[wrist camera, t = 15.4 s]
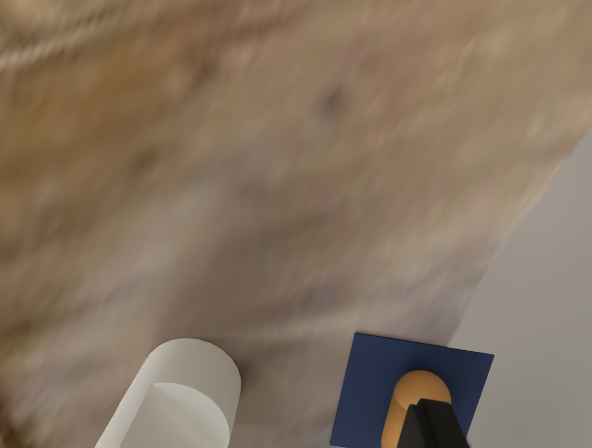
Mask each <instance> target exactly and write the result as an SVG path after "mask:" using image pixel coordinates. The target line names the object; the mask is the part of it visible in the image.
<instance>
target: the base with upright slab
mask: <svg viewBox="0 0 592 448" xmlns="http://www.w3.org/2000/svg"><path fill="white" fill-rule="evenodd" d="M240 393H241V377H240V374H239V370H238V368H237V366H236V365H235V363H234V361H233V360H232V358H231V357H230V356H229V355H227V354H226V353H225V352H224V351H223V350H222V349H220V348H219V347H217V346H215V345H213V344H212V343H209V342H206V341H203V340H200V339H192V338H181V339H175V340H170V341H168V342H166V343H163V344H161V345H159V346H158V347H157V348H156V349H154V350H153V351H152V352H151V353H150V354H149V356H148V357H147V359H146V360H145V362H144V364H143V365H142V367H141V369H140V370H139V372H138V374H137V376H136V377H135V379H134V381H133V382H132V384H131V386H130V387H129V389H128V391H127V393H126V394H125V396H124V398H123V399H122V401H121V403H120V404H119V406H118V408H117V410H116V412H115V414H114V415H113V417H112V419H111V421H110V422H109V424H108V426H107V427H106V429H105V431H104V433H103V434H102V436H101V438H100V439H99V441H98V443H97V444H96V446H95V448H227V447H228V444H229V441H230V437H231V432H232V428H233V424H234V419H235V415H236V410H237V406H238V402H239V397H240Z"/></svg>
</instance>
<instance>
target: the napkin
mask: <svg viewBox="0 0 592 448" xmlns="http://www.w3.org/2000/svg"><path fill="white" fill-rule="evenodd" d="M493 358H494V355H492V354H486V353H480V352H473V351H467V350H461V349H454V348H448V347H442V346H436V345H430V344H423V343H417V342H411V341H404V340H398V339H392V338H386V337H379V336H373V335H367V334H360V333H355V335H354V339H353V344H352V348H351V352H350V357H349V361H348V366H347V370H346V374H345V379H344V383H343V387H342V392H341V396H340V401H339V405H338V409H337V414H336V418H335V422H334V427H333V431H332V436H331V440H330V445H333V446H339V447H346V448H381V438H382V433H383V429H384V425H385V422H386V418H387V414H388V411H389V407H390V403H391V400H392V396H393V392H394V389H395V386H396V384H397V382H398V381H399V379H400V378H401V377H402V376H404V375H405V374H406V373H408V372H411V371H414V370H425V371H429V372H431V373H433V374H435V375H437V376H438V377H439V378H440V379H441V380H442V381H443V382H444V383H445V384H446V386H447V388H448V390H449V393H450V396H451V406H452V408H453V410H454V412H455V415H456V417H457V420H458V422H459V424H460V427H461V429H462V432H463V434H464V436H465V439H466V436H467V433H468V431H469V428H470V425H471V422H472V419H473V416H474V413H475V410H476V407H477V404H478V402H479V399H480V396H481V393H482V390H483V387H484V384H485V381H486V379H487V376H488V373H489V370H490V367H491V364H492V361H493Z"/></svg>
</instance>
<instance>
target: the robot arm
mask: <svg viewBox="0 0 592 448" xmlns="http://www.w3.org/2000/svg"><path fill="white" fill-rule="evenodd" d="M396 448H469V446H468V443H467V441H466V439H465V436H464V434H463V432H462V429H461V427H460V424H459V422H458V420H457V417H456V415H455V412H454V410H453V408H452V406H451V404H450V403H448V402H444V401H438V400H432V399H425V398H421V399H419V401H418V403H417V405H415V404H410V405H409V407H408V409H407V413H406V416H405V419H404V423H403V426H402V430H401V433H400V437H399V440H398V444H397V447H396Z"/></svg>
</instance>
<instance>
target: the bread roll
mask: <svg viewBox="0 0 592 448" xmlns="http://www.w3.org/2000/svg"><path fill="white" fill-rule="evenodd" d="M421 398H425V399H432V400H438V401H444V402H448V403H450V404H451V396H450V393H449V390H448V388H447V386H446V384H445V383H444V382H443V381H442V380H441V379H440V378H439V377H438V376H437V375H435V374H433V373H431V372H429V371H425V370H414V371H411V372H408V373H406V374H405V375H404V376H402V377H401V378H400V379H399V381H398V382H397V384H396V386H395V389H394V392H393V396H392V400H391V403H390V407H389V411H388V414H387V418H386V422H385V425H384V429H383V433H382V438H381V448H396V447H397V444H398V440H399V437H400V433H401V430H402V426H403V423H404V419H405V416H406V413H407V409H408V407H409V405H410V404H415V405H417V403H418V401H419V399H421Z"/></svg>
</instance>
